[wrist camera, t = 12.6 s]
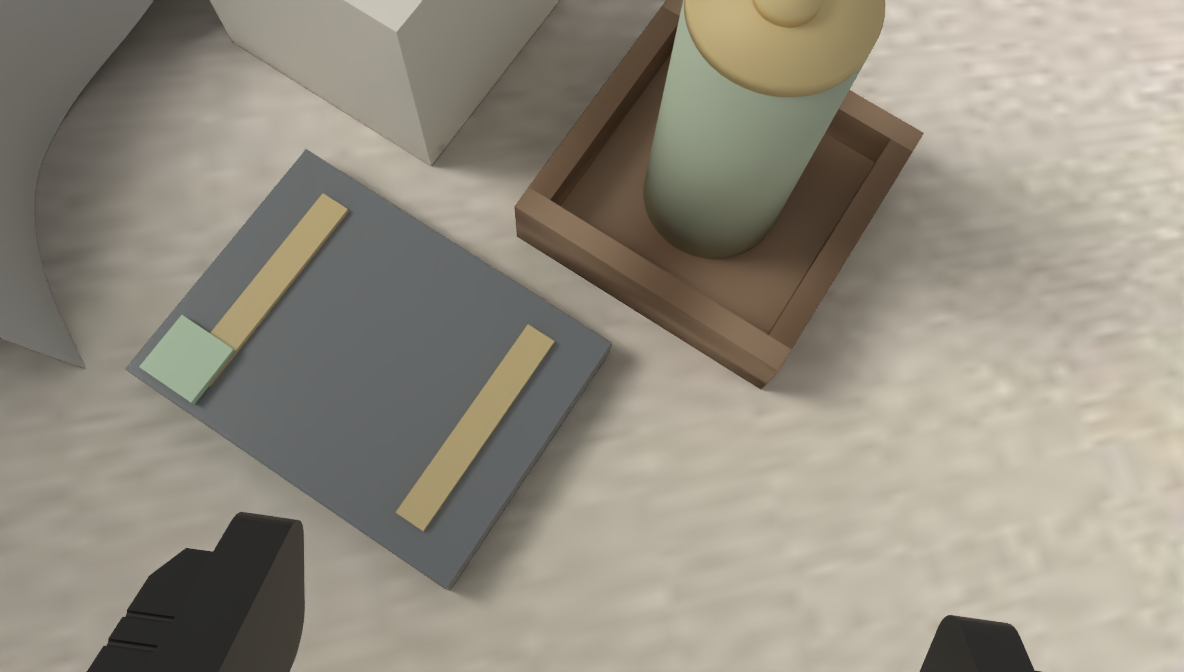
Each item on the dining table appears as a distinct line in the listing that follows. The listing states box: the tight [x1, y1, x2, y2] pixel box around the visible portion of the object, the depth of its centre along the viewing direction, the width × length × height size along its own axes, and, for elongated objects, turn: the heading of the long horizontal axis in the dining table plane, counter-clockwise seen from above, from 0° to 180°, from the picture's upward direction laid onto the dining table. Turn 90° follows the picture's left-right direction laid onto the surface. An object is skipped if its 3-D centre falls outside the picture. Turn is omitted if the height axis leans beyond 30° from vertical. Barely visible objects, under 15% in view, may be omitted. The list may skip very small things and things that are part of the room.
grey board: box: [125, 149, 611, 591], centre depth 31 cm, size 12×9×2 cm
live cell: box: [643, 0, 885, 259], centre depth 28 cm, size 5×5×11 cm
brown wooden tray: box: [515, 0, 924, 389], centre depth 33 cm, size 10×10×2 cm
